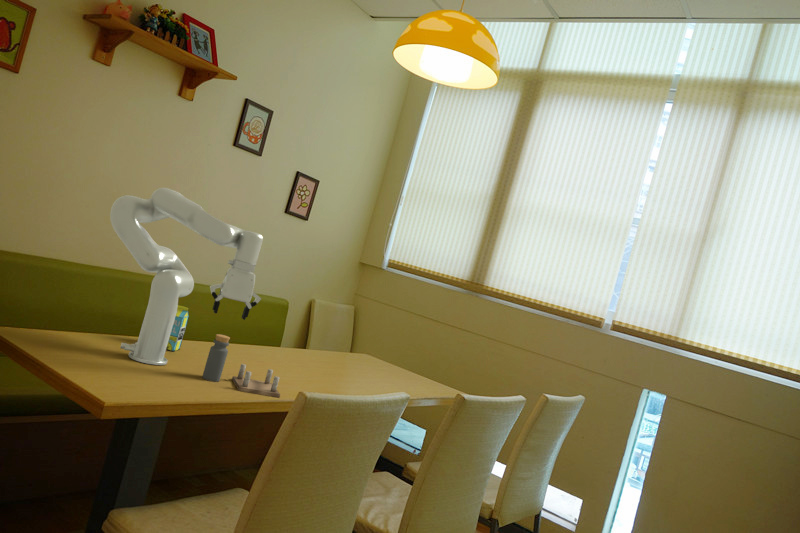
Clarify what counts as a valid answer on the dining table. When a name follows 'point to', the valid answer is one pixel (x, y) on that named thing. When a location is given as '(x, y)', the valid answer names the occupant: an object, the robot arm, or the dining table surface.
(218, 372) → the bottle
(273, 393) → the pegboard
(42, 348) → the dining table surface
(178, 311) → the carton
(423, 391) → the dining table surface
